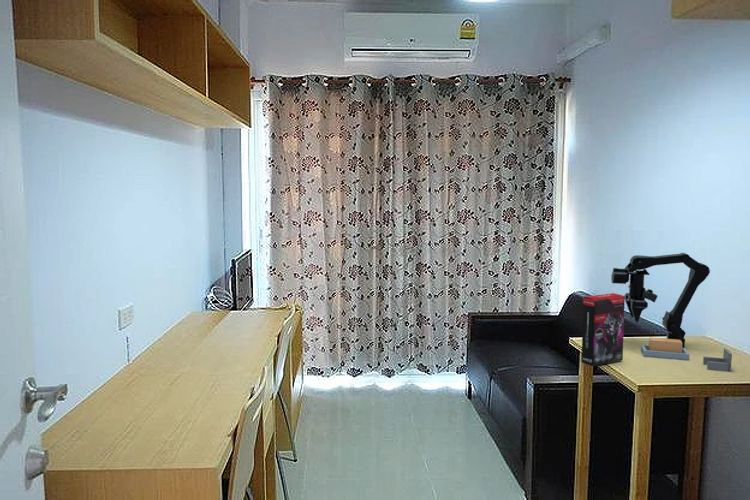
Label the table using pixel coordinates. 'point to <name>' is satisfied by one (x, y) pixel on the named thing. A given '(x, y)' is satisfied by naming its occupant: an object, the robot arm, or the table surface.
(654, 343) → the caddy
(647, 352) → the tray
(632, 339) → the table surface
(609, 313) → the graphics card box
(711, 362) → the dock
